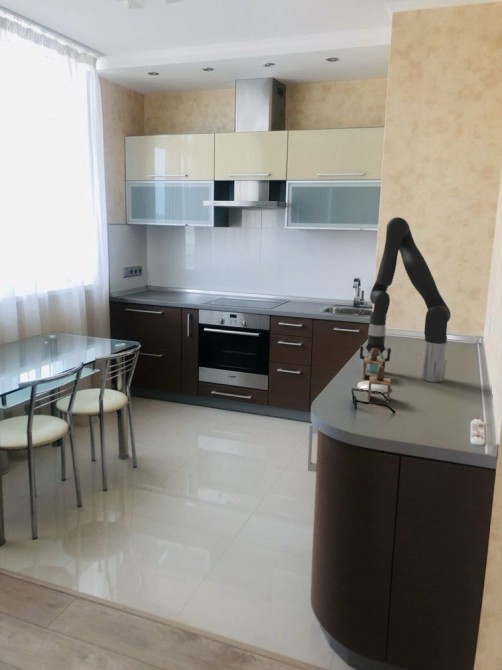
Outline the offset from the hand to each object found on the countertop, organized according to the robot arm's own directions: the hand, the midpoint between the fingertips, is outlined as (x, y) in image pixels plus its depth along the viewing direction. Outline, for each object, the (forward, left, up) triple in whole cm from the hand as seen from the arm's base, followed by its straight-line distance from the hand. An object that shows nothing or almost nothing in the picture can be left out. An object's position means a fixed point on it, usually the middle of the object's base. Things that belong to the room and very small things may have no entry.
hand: (373, 368), depth 256 cm
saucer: (-20, +18, -1) cm, 27 cm away
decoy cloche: (-32, +26, -1) cm, 41 cm away
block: (0, 0, -1) cm, 1 cm away
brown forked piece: (-8, +8, -1) cm, 11 cm away
